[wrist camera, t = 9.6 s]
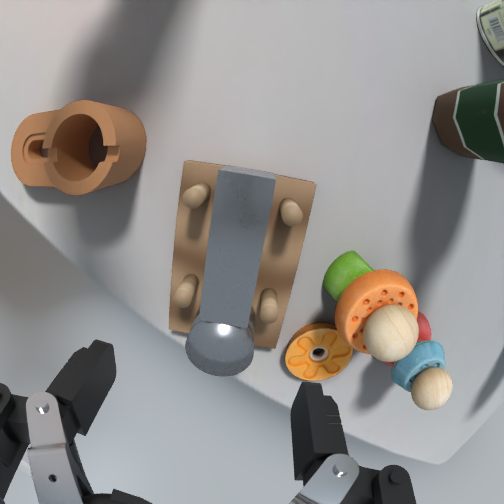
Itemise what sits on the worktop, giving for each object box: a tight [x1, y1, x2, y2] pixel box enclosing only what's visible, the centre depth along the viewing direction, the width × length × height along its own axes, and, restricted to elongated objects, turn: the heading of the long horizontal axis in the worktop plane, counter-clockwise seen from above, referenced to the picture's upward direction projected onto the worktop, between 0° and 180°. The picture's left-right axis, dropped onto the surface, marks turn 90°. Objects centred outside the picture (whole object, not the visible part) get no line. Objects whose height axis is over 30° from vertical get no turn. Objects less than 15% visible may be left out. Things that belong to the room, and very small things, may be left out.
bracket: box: [11, 100, 147, 195], centre depth 24 cm, size 18×8×7 cm, turn 83°
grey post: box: [185, 166, 276, 376], centre depth 26 cm, size 18×6×6 cm, turn 170°
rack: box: [169, 160, 316, 349], centre depth 27 cm, size 18×12×6 cm, turn 170°
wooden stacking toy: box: [285, 251, 452, 410], centre depth 27 cm, size 18×17×12 cm
